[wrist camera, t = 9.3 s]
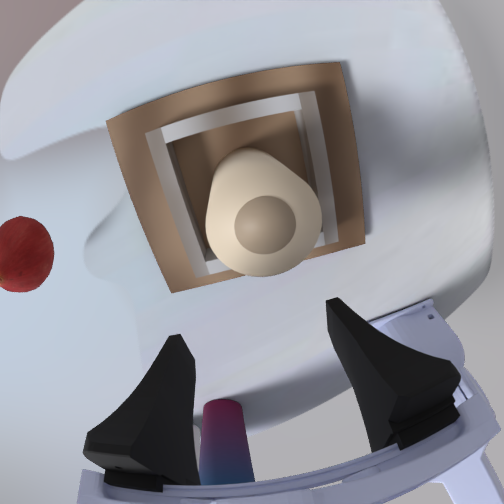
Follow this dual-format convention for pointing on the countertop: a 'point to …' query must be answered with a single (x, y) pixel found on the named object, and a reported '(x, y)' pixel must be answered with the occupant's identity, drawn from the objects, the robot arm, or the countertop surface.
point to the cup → (224, 445)
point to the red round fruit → (24, 254)
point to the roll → (260, 214)
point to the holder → (229, 139)
